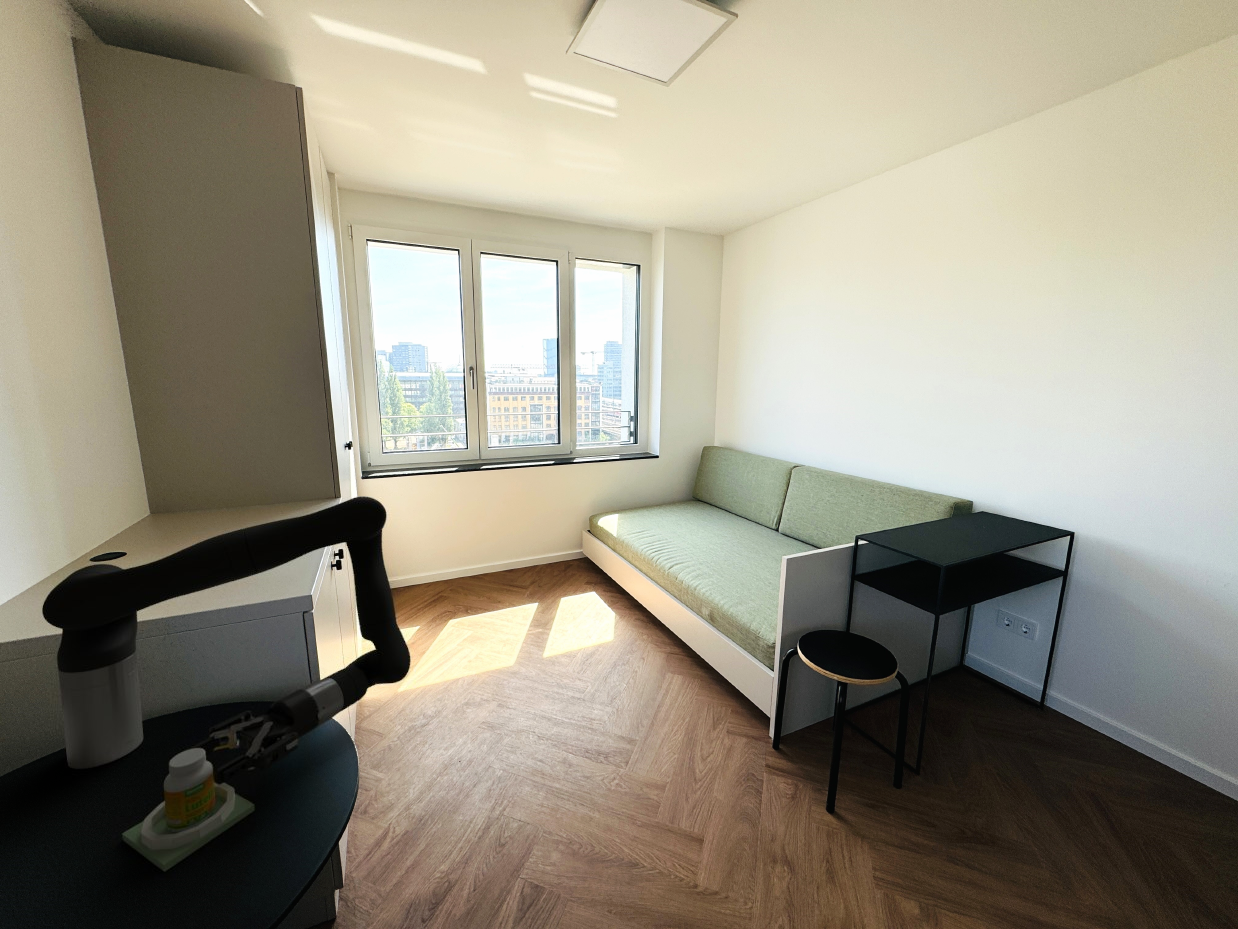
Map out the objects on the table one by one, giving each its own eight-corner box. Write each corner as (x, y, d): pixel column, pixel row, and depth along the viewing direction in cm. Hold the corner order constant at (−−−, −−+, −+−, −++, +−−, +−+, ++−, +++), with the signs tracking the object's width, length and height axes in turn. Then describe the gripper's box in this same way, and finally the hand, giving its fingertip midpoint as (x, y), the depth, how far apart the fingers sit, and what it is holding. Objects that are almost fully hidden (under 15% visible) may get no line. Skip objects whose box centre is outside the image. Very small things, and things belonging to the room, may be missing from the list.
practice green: (122, 840, 68) (121, 824, 68) (213, 786, 78) (212, 771, 78) (164, 872, 64) (163, 855, 64) (254, 810, 74) (253, 795, 74)
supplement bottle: (186, 837, 68) (182, 774, 67) (156, 829, 69) (151, 767, 68) (224, 806, 73) (220, 747, 72) (196, 800, 74) (192, 741, 73)
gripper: (281, 679, 89) (171, 731, 74) (333, 700, 83) (225, 761, 68) (283, 716, 90) (174, 776, 75) (334, 740, 84) (228, 809, 69)
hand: (199, 768), depth 72 cm, fingers open, 8 cm apart
